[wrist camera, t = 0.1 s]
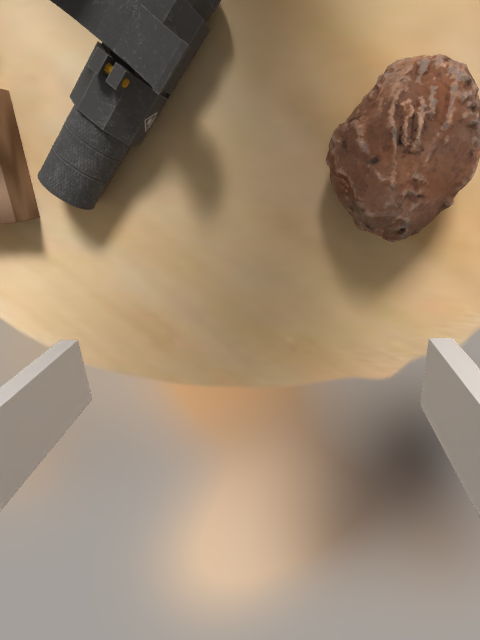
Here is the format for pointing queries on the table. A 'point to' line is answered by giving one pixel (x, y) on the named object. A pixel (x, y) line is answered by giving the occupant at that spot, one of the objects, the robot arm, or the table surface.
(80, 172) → the laser sight
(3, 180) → the dock block
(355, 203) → the brown lumpy rounded lump
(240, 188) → the table surface
